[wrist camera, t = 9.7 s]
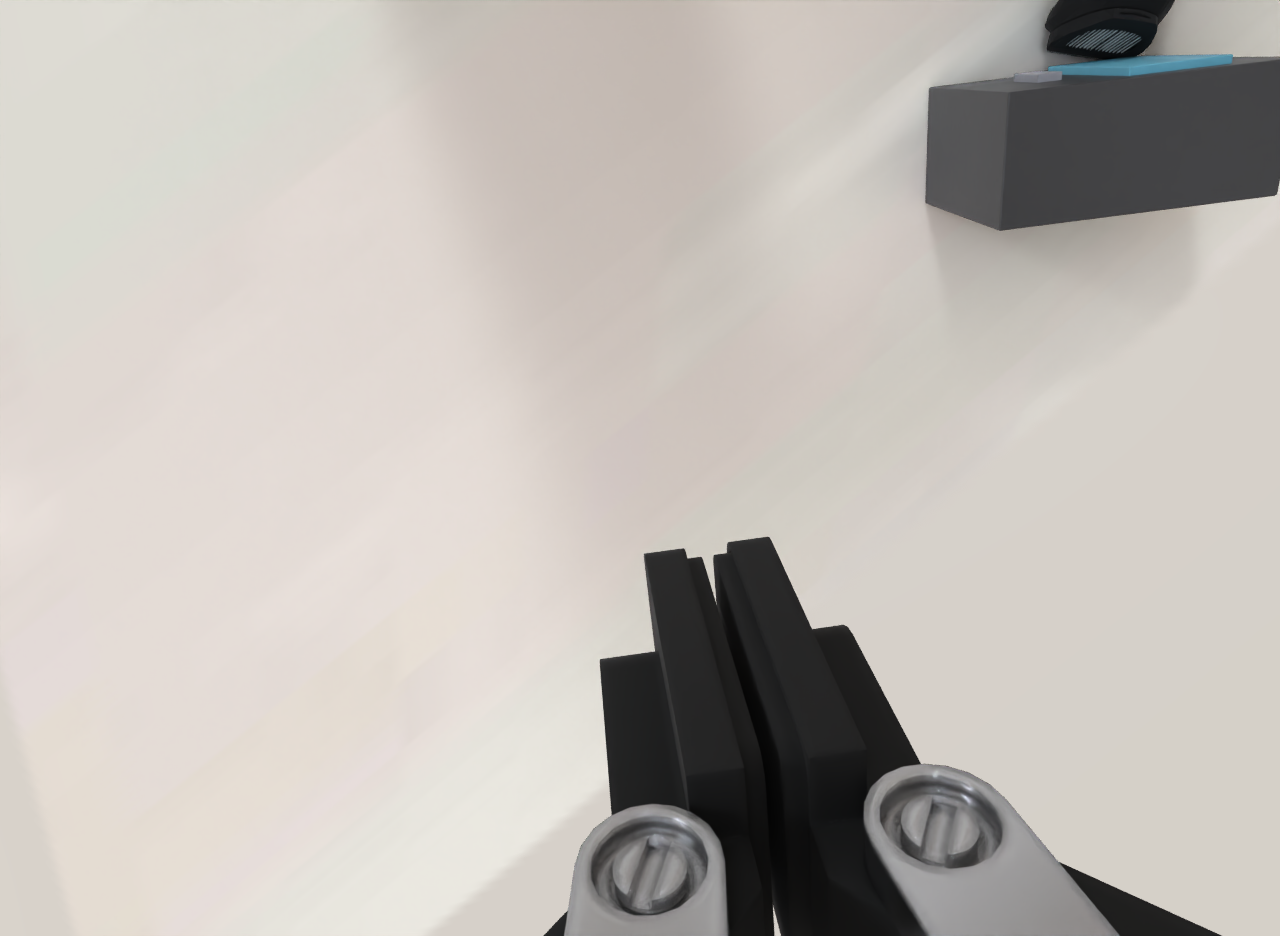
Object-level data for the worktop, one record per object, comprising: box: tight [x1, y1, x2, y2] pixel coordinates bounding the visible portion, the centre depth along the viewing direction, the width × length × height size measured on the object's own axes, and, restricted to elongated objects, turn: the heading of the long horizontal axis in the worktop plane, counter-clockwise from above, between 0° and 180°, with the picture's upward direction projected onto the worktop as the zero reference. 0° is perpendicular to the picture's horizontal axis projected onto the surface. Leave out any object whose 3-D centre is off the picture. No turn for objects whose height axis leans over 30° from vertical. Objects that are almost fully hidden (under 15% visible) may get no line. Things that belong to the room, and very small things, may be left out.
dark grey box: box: [926, 54, 1280, 231], centre depth 29 cm, size 4×6×9 cm
